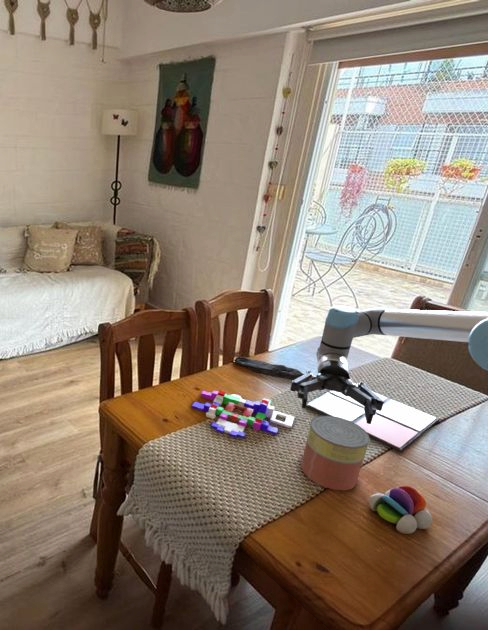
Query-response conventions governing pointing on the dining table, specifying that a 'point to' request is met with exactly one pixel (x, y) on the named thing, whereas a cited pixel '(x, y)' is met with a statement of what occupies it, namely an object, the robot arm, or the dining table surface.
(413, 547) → the dining table surface
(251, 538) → the dining table surface
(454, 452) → the dining table surface
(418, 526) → the rainbow cloud toy
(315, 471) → the canned food
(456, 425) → the dining table surface
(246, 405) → the building block set
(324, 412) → the board
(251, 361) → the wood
